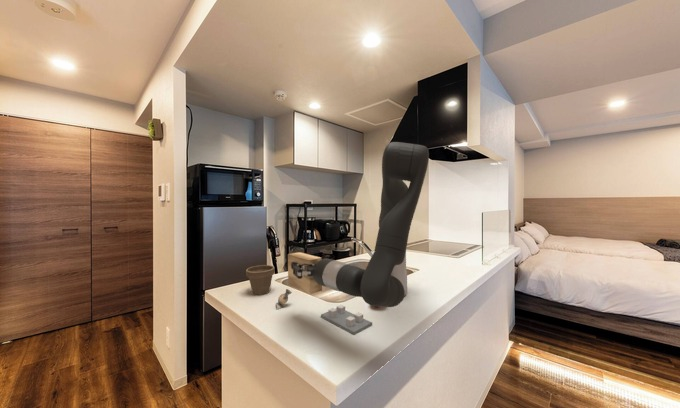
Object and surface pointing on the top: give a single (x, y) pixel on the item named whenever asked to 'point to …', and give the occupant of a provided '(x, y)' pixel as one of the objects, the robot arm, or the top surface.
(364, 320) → the peg stand
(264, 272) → the flower pot
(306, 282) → the brown rectangular block
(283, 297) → the vase
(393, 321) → the top surface
